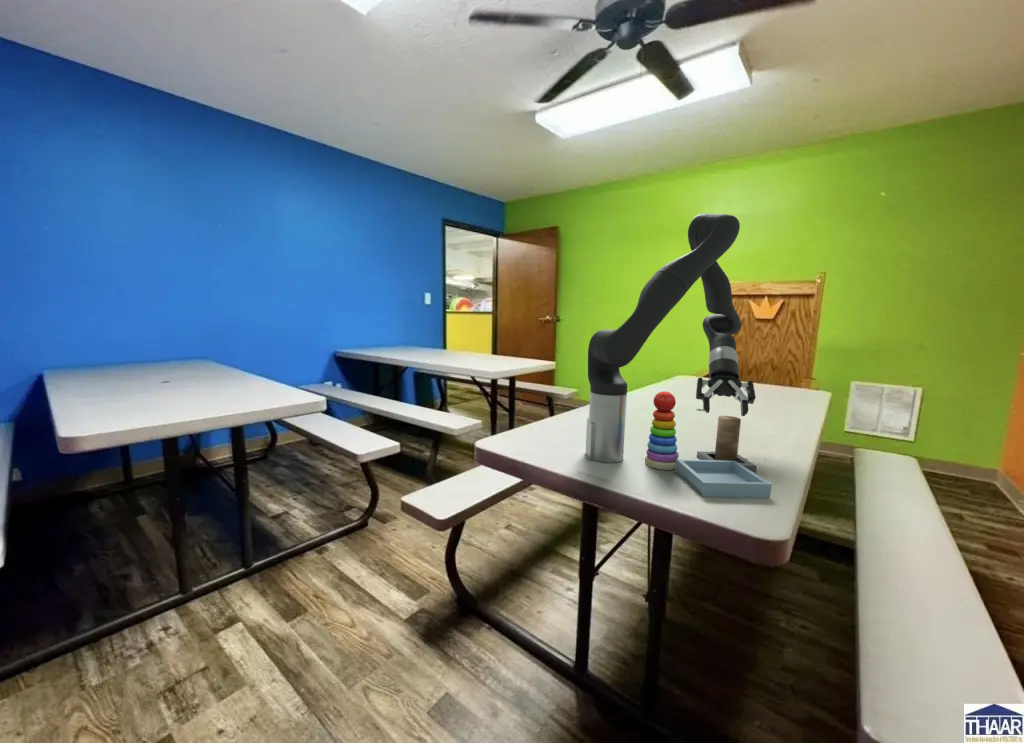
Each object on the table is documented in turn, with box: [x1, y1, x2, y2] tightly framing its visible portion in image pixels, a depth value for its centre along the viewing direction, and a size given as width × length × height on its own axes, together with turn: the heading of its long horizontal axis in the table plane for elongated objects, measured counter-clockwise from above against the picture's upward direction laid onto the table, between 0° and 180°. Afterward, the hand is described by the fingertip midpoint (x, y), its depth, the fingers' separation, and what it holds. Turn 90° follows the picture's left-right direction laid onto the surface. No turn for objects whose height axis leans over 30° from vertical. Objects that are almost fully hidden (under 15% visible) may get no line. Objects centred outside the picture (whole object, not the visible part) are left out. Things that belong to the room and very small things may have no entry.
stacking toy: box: [644, 391, 680, 471], centre depth 101 cm, size 8×8×19 cm
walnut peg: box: [714, 415, 742, 462], centre depth 103 cm, size 5×5×12 cm
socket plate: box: [696, 451, 758, 473], centre depth 104 cm, size 10×10×2 cm
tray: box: [675, 458, 772, 499], centre depth 91 cm, size 14×14×3 cm
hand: (725, 412), depth 108 cm, fingers open, 8 cm apart
